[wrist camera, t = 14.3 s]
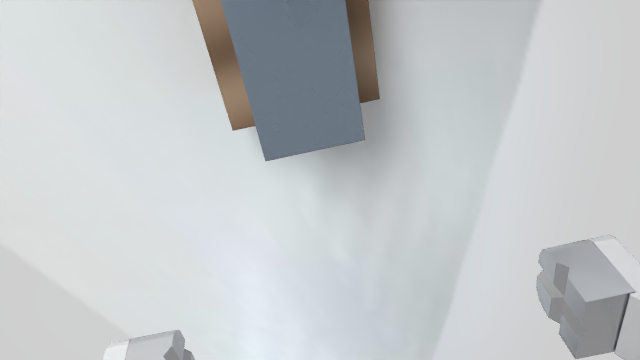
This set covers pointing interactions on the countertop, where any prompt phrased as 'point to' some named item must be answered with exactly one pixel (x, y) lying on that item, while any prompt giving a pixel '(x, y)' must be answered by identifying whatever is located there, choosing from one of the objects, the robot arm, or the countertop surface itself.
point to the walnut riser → (230, 74)
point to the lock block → (297, 73)
